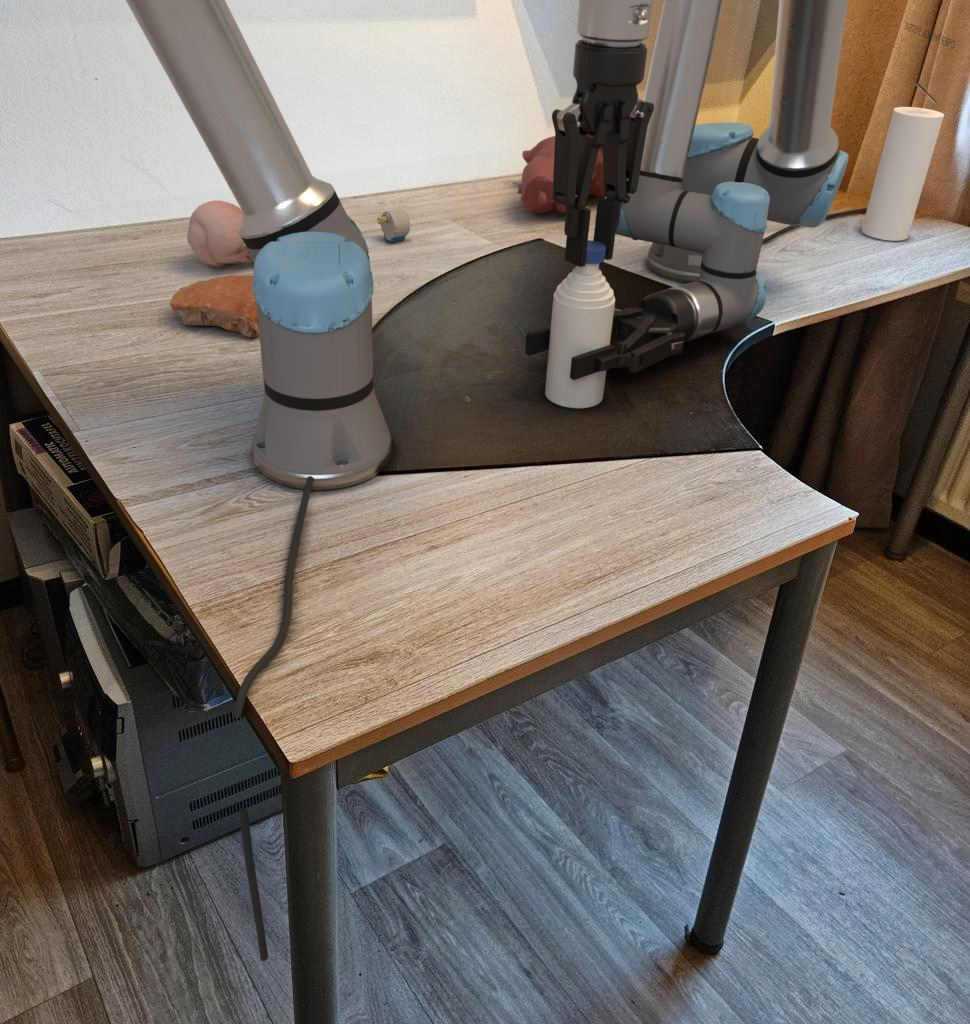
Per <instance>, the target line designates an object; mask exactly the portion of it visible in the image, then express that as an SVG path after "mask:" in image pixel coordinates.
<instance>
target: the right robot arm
mask: <svg viewBox="0 0 970 1024" xmlns="http://www.w3.org/2000/svg"><path fill="white" fill-rule="evenodd" d="M724 2H725V0H663V4H662V9H661V12H660V13H661V14H660V19H659V23H658V28H657V34H656V38H655V43H654V48H653V52H652V57H651V60H650V61H651V62H650V66H649V71H648V76H647V81H646V85H645V91H644V94H643V99H642V100H643V101H647V102H650V103H653V104H654V111H653V113H652V116H651V118H650V121H649V123H648V126H647V133H646V139H645V145H644V151H643V157H642V163H641V169H640V175H639V181H638V187H637V191H636V192H635V193H634V194H631V193H630V194H628V195H627V196H630V201H629V202H628V203H627V204H625V203H622V204H621V213H620V221H619V225H618V228H616V233H615V235H618V236H622V237H624V238H625V237H626V238H629V239H632V241H643V242H648V243H651V245H650V247H649V249H648V252H647V258H646V265H647V267H648V269H650V270H651V272H653V273H655V274H657V275H659V276H662V277H663V278H667V279H670V280H673V281H678V282H684V283H683V284H680V285H676V286H673V287H670V288H666V289H664V290H660V291H656V292H653V293H650V294H648V295H646V296H645V297H644V298H643V299H642V300H641V301H640V303H639V304H638V305H637V306H636V307H626V308H624V309H619V308H616V305H615V306H614V314H613V322H612V330H611V338H610V340H619V339H620V340H621V339H624V340H623V341H617V346H614V345H613V344H610V345H608V346H605V347H602V348H599V349H596V350H592V351H589V352H586V353H583V354H580V355H577V356H574V357H572V360H571V370H570V378H571V379H573V380H576V379H579V378H582V377H585V376H588V375H591V374H594V373H596V372H599V371H606V372H607V371H608V370H611V369H614V368H615V369H616V368H617V369H624V368H628V372H630V373H634V374H635V373H638V372H641V371H643V370H644V369H646V368H648V367H650V366H652V365H655V364H656V363H659V362H661V361H662V360H664V359H666V358H668V357H671V356H672V357H673V356H676V355H680V354H682V353H683V350H684V344H685V343H687V342H690V341H693V340H695V339H698V338H701V337H705V336H707V335H711V334H713V333H714V334H715V333H717V332H720V331H723V330H726V329H729V328H734V327H738V326H740V325H742V324H744V323H745V322H748V321H750V320H752V319H754V318H755V317H757V316H758V315H759V314H760V313H761V312H762V310H763V309H764V307H765V304H766V301H767V292H766V287H765V285H766V284H765V281H764V279H763V278H762V276H761V275H760V273H758V272H757V268H758V264H759V259H760V255H761V251H762V245H763V244H765V243H767V242H769V241H772V240H773V239H775V238H777V237H778V236H780V235H782V234H784V233H787V232H789V231H791V230H794V229H796V228H799V227H803V228H811V229H813V228H818V227H819V226H821V225H822V224H823V223H824V222H825V221H826V220H827V219H828V220H829V219H832V218H838V217H843V216H848V215H854V214H859V213H866V211H867V208H868V206H866V207H862V208H857V209H855V208H854V209H851V210H850V209H849V210H844V211H839V212H833V213H829V212H830V211H831V209H832V207H833V204H834V201H835V199H836V196H837V194H838V191H839V189H840V186H841V184H842V180H843V178H844V176H845V173H846V169H847V166H848V163H849V154H848V153H847V152H845V151H844V150H843V149H839V136H838V135H837V133H836V131H835V130H834V129H833V128H832V127H831V123H832V115H833V108H834V100H835V93H836V87H837V80H838V79H837V78H838V73H839V65H840V64H839V63H840V58H841V51H842V43H843V38H844V31H845V24H846V23H845V22H846V16H847V8H848V2H849V0H778V9H777V11H778V13H777V23H776V26H777V27H776V37H775V50H774V61H773V75H772V88H771V101H770V112H769V124H768V125H769V126H768V127H767V128H766V129H764V131H763V132H762V133H761V134H760V136H759V138H758V137H754V135H755V134H754V129H753V126H752V125H750V124H746V123H742V122H726V121H725V122H723V121H722V122H721V121H720V122H707V123H700V124H697V119H698V114H699V110H700V106H701V102H702V97H703V93H704V89H705V84H706V79H707V76H708V71H709V68H710V62H711V59H712V54H713V50H714V46H715V42H716V36H717V32H718V30H719V29H718V28H719V24H720V20H721V15H722V11H723V7H724ZM838 149H839V150H838ZM626 180H627V181H629V179H628V178H627V179H626ZM604 198H605V199H606V197H604ZM768 222H774V223H778V224H784V225H788V226H786V227H784V228H782V229H780V230H777V231H776V232H773V233H772V234H770V235H767V237H765V232H766V231H767V227H768V225H767V223H768ZM550 331H551V325H549V326H547V327H543V328H541V329H537V330H534V331H531V332H527V333H526V336H525V348H524V349H525V350H524V354H525V355H526V356H529V357H530V356H533V355H536V354H540V353H542V352H546V351H549V342H550Z"/></svg>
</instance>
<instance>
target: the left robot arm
mask: <svg viewBox="0 0 970 1024" xmlns="http://www.w3.org/2000/svg"><path fill="white" fill-rule="evenodd" d="M578 2H579V3H578V10H577V11H578V12H577V22H576V34H577V35H578V36H579V37H581V38H580V39H578V40H577V43H575V44H574V56H573V68H572V74H573V75H572V76H573V78H574V80H575V81H576V89H575V92H574V95H573V97H572V101H571V104H570V105H568V106H567V107H565V108H564V109H563V110H561V109H558V108H557V109H554V110H553V111H552V113H551V120H552V124H553V129H554V132H555V133H554V136H555V150H554V172H553V194H552V198H553V201H555V202H558V203H560V204H563V205H565V207H566V213H565V216H564V227H563V233H564V235H565V236H566V240H565V252H564V261H566V262H568V263H569V264H572V265H574V266H576V267H577V266H579V267H583V266H585V262H586V252H587V243H588V240H589V232H590V223H591V214H592V209H590V208H588V207H586V206H587V204H588V198H589V195H590V194H589V190H590V186H591V182H592V177H593V173H594V169H595V165H596V160H597V156H598V152H599V148H600V147H602V146H603V186H604V196H606V199H605V197H598V198H597V201H596V202H597V203H596V213H595V220H594V221H595V222H594V231H593V240H592V241H597V242H601V243H603V244H605V245H606V253H605V260H606V261H610V260H613V257H614V248H615V240H616V234H615V233H616V228H618V225H619V221H620V213H621V204H622V203H625V204H627V203H628V202H629V201H630V196H627V195H628V194H630V193H631V194H634V193H635V192H636V191H637V187H638V181H639V175H640V169H641V163H642V157H643V151H644V145H645V139H646V133H647V126H648V123H649V121H650V118H651V116H652V113H653V111H654V104H653V103H650V102H647V101H643V99H640V98H639V93H638V85H640V84H641V83H643V81H644V79H645V72H646V64H647V57H648V56H647V55H648V48H647V45H646V44H644V43H643V41H645V40H647V39H648V38H649V34H650V29H651V28H650V27H651V20H652V12H653V11H652V10H653V4H654V0H579V1H578ZM125 3H126V4H127V5H128V7H129V9H130V11H131V12H132V14H133V17H134V18H135V20H136V21H137V24H138V25H139V27H140V29H141V31H142V33H143V35H144V36H145V38H146V40H147V42H148V43H149V45H150V47H151V49H152V51H153V52H154V54H155V56H156V57H157V60H158V62H159V64H160V66H161V67H162V68H163V71H164V72H165V74H166V76H167V77H168V79H169V81H170V83H171V85H172V87H173V88H174V90H175V92H176V95H178V97H179V99H180V101H181V103H182V104H183V106H184V108H185V110H186V112H187V114H188V116H189V117H190V119H191V121H192V123H193V125H194V127H195V128H196V130H197V132H198V134H199V136H200V137H201V139H202V141H203V143H204V144H205V147H206V148H207V150H208V152H209V154H210V155H211V157H212V159H213V161H214V162H215V165H216V166H217V168H218V170H219V172H220V173H221V175H222V177H223V179H224V180H225V183H226V184H227V186H228V188H229V190H230V191H231V193H232V195H233V197H234V198H235V201H236V202H237V205H238V207H239V208H240V209H242V211H243V216H242V220H241V223H240V227H239V234H240V236H241V238H242V240H243V241H244V243H245V245H246V247H247V249H248V250H249V252H250V254H251V255H250V256H251V257H252V259H253V261H254V263H253V274H252V275H253V283H252V285H253V293H254V296H255V299H256V303H257V314H258V325H259V334H258V336H259V346H260V357H261V368H262V379H263V388H264V390H263V391H264V396H263V400H262V404H261V408H260V412H259V415H258V419H257V423H256V427H255V430H254V434H253V438H252V442H251V443H252V445H251V446H252V455H253V460H254V464H255V467H256V468H257V470H258V471H259V472H260V473H261V474H262V475H263V476H265V477H266V478H268V479H269V480H271V481H273V482H275V483H278V484H280V485H283V486H286V487H290V488H295V489H301V490H303V493H302V497H301V500H300V504H299V509H298V512H297V516H296V520H295V525H294V531H293V535H292V539H291V544H290V550H289V554H288V559H287V560H288V561H287V565H286V566H287V567H286V572H285V578H284V587H283V590H284V591H283V610H282V618H281V623H280V627H279V630H278V633H277V635H276V638H275V640H274V642H273V644H272V645H271V646H270V648H269V649H268V650H267V651H266V652H265V653H264V655H263V656H261V657H260V659H258V661H257V662H255V664H254V665H253V666H252V667H251V669H250V670H249V671H248V673H247V674H246V675H245V677H244V679H243V681H242V682H241V684H240V687H239V689H238V692H237V694H236V698H235V700H234V701H235V702H234V705H233V710H232V718H234V719H239V718H240V717H241V716H242V715H243V710H244V706H245V702H246V699H247V697H248V695H249V694H248V693H249V691H250V688H251V687H252V685H253V683H254V681H255V679H256V678H257V677H258V676H259V674H260V673H261V672H262V671H263V670H264V668H265V667H266V666H268V664H269V663H271V661H273V659H274V658H275V657H276V655H278V653H279V651H280V650H281V648H282V647H283V645H284V643H285V640H286V637H287V634H288V631H289V627H290V625H291V624H290V623H291V618H292V612H293V611H292V609H293V587H294V586H293V585H294V577H295V570H296V569H295V568H296V563H297V557H298V551H299V545H300V540H301V535H302V532H303V525H304V522H305V516H306V513H307V508H308V504H309V500H310V496H311V492H312V491H314V490H315V491H323V490H327V491H328V490H337V489H342V488H348V487H351V486H355V485H358V484H361V483H363V482H366V481H368V480H370V479H373V478H374V477H375V476H377V475H378V474H380V473H381V472H382V471H383V470H384V469H385V468H386V467H387V466H388V464H389V463H390V461H391V458H392V434H391V431H390V430H389V427H388V424H387V422H386V419H385V417H384V413H383V411H382V408H381V406H380V403H379V400H378V398H377V395H376V393H375V385H374V341H373V340H374V339H373V338H374V336H373V294H374V276H373V271H372V270H371V269H372V268H371V260H370V258H371V257H370V255H369V254H370V251H369V247H368V244H367V241H366V238H365V235H363V231H362V230H361V229H360V228H359V227H358V225H357V224H356V222H355V220H353V219H352V217H351V216H350V215H348V214H347V212H346V210H345V208H344V205H343V204H342V202H341V200H340V198H339V196H338V193H337V192H336V189H335V188H334V186H333V185H332V184H331V183H330V182H327V181H324V180H321V179H320V178H319V179H318V178H316V177H315V176H313V174H312V172H311V170H310V167H309V165H308V164H307V162H306V159H305V158H304V156H303V154H302V152H301V150H300V148H299V145H298V144H297V142H296V140H295V137H294V135H293V133H292V132H291V130H290V128H289V126H288V124H287V122H286V120H285V117H284V116H283V114H282V112H281V109H280V107H279V105H278V103H277V101H276V99H275V98H274V96H273V94H272V92H271V89H270V88H269V86H268V84H267V82H266V79H265V78H264V75H263V73H262V72H261V69H260V68H259V65H258V64H257V61H256V59H255V57H254V55H253V54H252V52H251V50H250V47H249V45H248V43H247V42H246V39H245V37H244V36H243V33H242V31H241V29H240V27H239V26H238V23H237V21H236V19H235V17H234V14H233V13H232V11H231V9H230V7H229V5H228V3H227V1H226V0H125ZM587 134H589V135H592V136H594V137H592V136H589V135H587ZM627 178H628V179H629V181H627V180H626V179H627ZM575 194H576V195H577V197H576V196H575ZM238 811H239V812H238V813H239V814H238V815H239V822H240V832H241V841H242V849H243V855H244V864H245V869H246V870H245V871H246V877H247V883H248V888H249V895H250V900H251V906H252V912H253V913H252V914H253V918H254V924H255V930H256V937H257V944H258V951H259V958H260V961H262V962H265V961H267V960H268V959H269V953H268V946H267V945H268V944H267V937H266V931H265V923H264V918H263V910H262V905H261V898H260V892H259V886H258V880H257V879H258V878H257V872H256V865H255V859H254V851H253V846H252V845H253V842H252V835H251V825H250V816H249V810H247V809H244V808H241V807H238Z"/></svg>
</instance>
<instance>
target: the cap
mask: <svg viewBox="0 0 970 1024" xmlns="http://www.w3.org/2000/svg"><path fill="white" fill-rule="evenodd" d="M605 253H606V245H605V244H603V243H601V242H597V241H593V240H589V239H588V243H587V252H586V262H585V264H598V263H599V264H601V263H603V262H604V261H605V260H606V259H605Z"/></svg>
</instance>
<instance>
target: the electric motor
mask: <svg viewBox="0 0 970 1024" xmlns="http://www.w3.org/2000/svg"><path fill="white" fill-rule="evenodd" d="M376 222H377V224H378V225H380V227H381V231H382V233H383V238H384V240H385V241H388V242H389V243H394V242H395V243H396V242H399V241H404V240H405V238H406V236H407V235H409V233H410V229H411V222H410V218H409V216H408V213H407V212H406V210H404V209H403V208H397V209H392V210H387V211H384V212H383V213H382V214H381V216H378V217H377V218H376Z"/></svg>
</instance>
